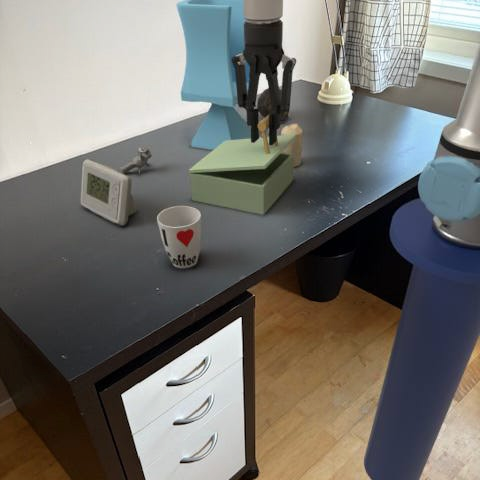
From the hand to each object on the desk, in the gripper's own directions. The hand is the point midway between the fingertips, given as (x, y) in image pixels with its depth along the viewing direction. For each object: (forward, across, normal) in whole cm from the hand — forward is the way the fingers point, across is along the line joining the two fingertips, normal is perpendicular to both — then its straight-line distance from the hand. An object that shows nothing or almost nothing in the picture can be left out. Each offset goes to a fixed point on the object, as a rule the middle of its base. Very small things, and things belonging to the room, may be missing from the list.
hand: (263, 141), depth 106 cm
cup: (+13, +3, +32) cm, 35 cm away
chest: (+13, +6, 0) cm, 14 cm away
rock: (+13, +18, -49) cm, 54 cm away
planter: (+13, +24, -26) cm, 38 cm away
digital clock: (+13, +29, +22) cm, 39 cm away
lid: (+4, +5, 0) cm, 6 cm away
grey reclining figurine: (+13, +36, +1) cm, 38 cm away
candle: (+13, 0, -19) cm, 23 cm away
